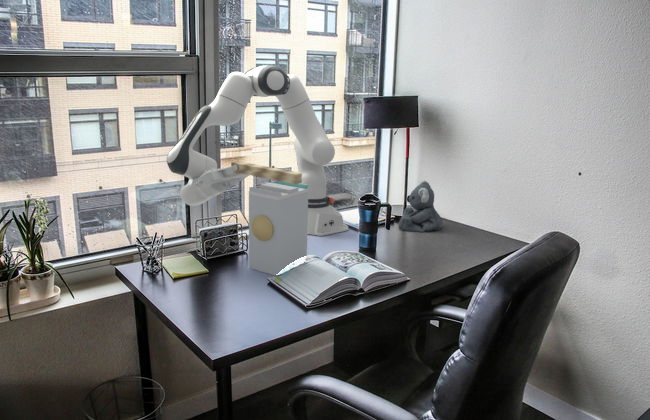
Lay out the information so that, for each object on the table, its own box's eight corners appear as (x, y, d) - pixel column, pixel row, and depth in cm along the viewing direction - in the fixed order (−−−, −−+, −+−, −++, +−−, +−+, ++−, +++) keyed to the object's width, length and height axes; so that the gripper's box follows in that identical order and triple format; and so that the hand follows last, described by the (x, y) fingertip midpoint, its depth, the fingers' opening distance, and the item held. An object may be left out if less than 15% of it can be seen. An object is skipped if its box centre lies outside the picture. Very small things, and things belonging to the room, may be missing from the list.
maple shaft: (231, 171, 177) (231, 162, 176) (237, 170, 179) (237, 161, 178) (295, 184, 163) (296, 174, 162) (301, 182, 166) (301, 173, 165)
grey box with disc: (247, 268, 177) (246, 188, 170) (278, 254, 191) (279, 179, 184) (276, 277, 171) (276, 193, 164) (306, 262, 185) (308, 184, 178)
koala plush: (402, 220, 240) (405, 177, 235) (443, 224, 236) (447, 180, 231) (397, 231, 224) (400, 185, 219) (441, 235, 220) (445, 188, 215)
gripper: (188, 177, 175) (215, 161, 167) (231, 168, 192) (257, 153, 184) (196, 195, 175) (223, 179, 167) (238, 185, 192) (265, 170, 184)
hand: (241, 165), depth 176 cm, fingers closed on maple shaft, 3 cm apart
